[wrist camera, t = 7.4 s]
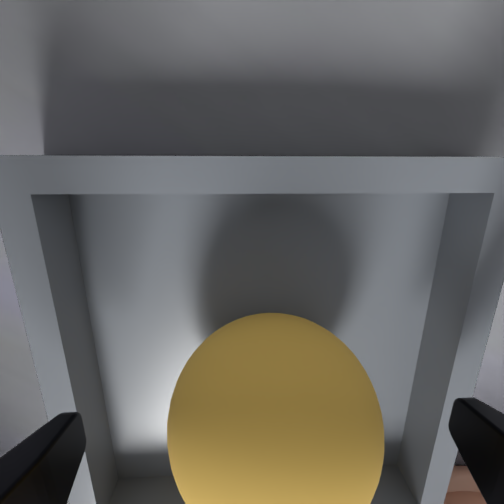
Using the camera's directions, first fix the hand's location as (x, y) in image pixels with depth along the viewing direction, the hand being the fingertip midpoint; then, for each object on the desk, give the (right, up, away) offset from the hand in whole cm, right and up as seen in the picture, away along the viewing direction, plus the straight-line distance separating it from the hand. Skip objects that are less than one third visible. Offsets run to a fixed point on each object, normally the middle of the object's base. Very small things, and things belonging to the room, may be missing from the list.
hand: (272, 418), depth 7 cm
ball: (0, +1, +2) cm, 3 cm away
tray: (0, +1, +3) cm, 3 cm away
